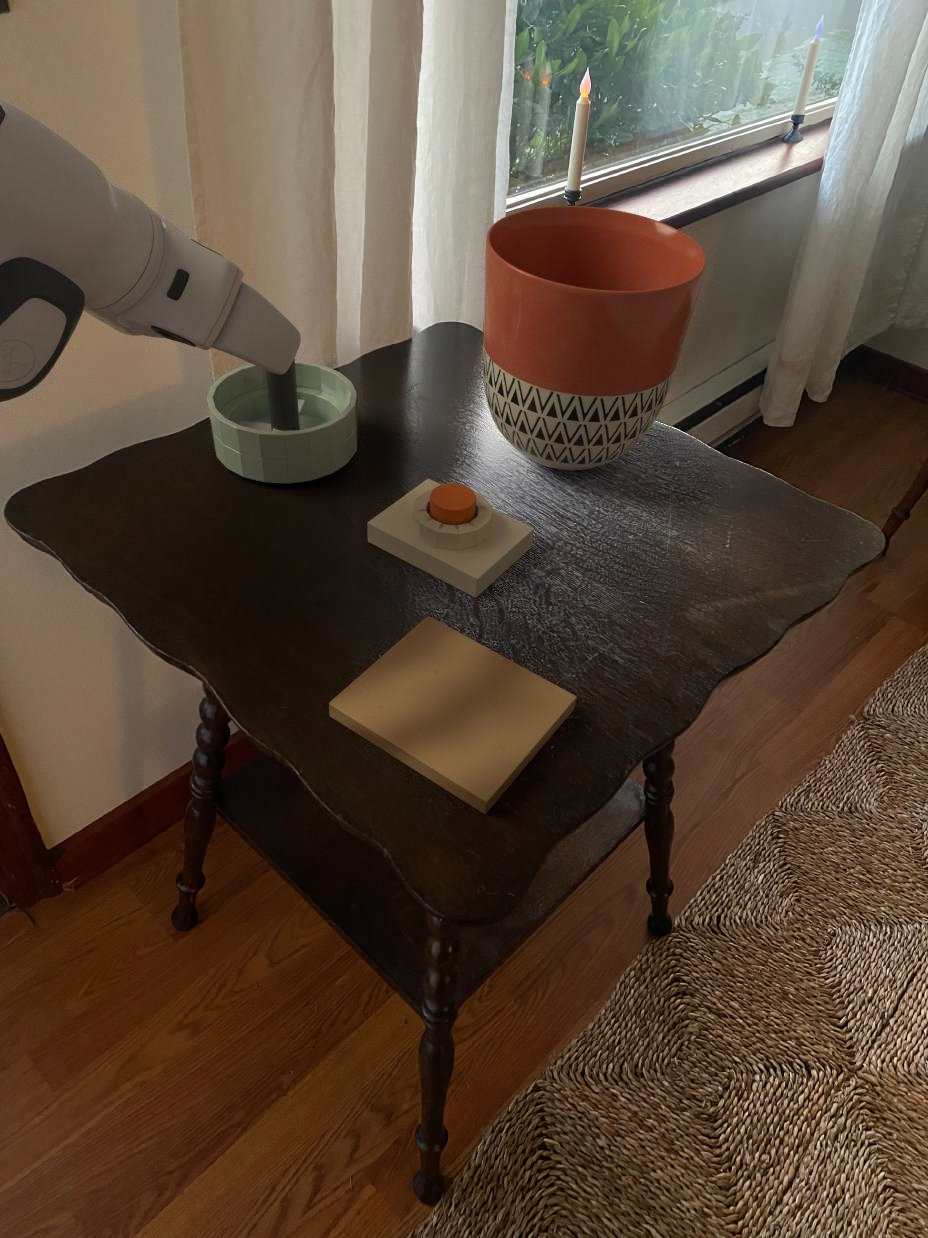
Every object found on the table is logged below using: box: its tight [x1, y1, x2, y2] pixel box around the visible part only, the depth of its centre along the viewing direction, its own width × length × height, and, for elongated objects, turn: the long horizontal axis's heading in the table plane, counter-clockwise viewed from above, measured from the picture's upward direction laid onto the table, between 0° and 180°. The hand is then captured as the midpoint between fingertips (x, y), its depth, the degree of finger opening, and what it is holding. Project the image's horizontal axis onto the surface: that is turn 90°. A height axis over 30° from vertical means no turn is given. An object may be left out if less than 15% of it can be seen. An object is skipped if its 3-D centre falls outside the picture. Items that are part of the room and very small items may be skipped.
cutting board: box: [328, 615, 578, 815], centre depth 66 cm, size 14×12×2 cm
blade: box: [239, 357, 309, 432], centre depth 87 cm, size 10×10×12 cm
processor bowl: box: [206, 359, 359, 484], centre depth 89 cm, size 14×14×6 cm
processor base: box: [366, 478, 535, 599], centre depth 80 cm, size 12×9×4 cm
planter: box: [482, 205, 708, 471], centre depth 86 cm, size 20×20×21 cm
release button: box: [430, 482, 476, 526], centre depth 78 cm, size 4×4×2 cm
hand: (240, 345), depth 79 cm, fingers open, 8 cm apart
